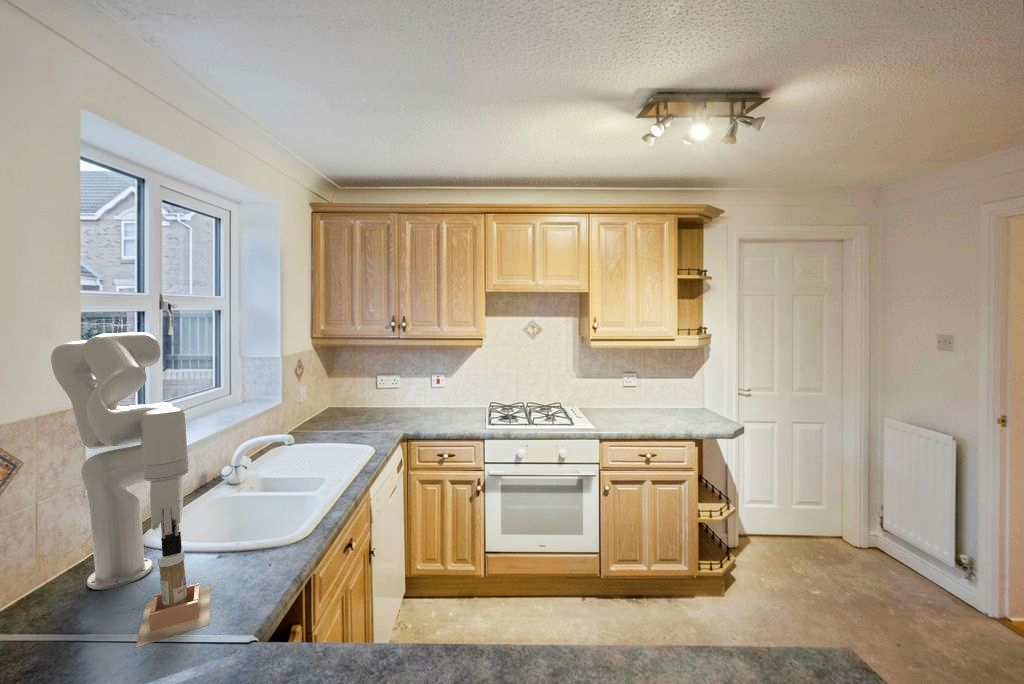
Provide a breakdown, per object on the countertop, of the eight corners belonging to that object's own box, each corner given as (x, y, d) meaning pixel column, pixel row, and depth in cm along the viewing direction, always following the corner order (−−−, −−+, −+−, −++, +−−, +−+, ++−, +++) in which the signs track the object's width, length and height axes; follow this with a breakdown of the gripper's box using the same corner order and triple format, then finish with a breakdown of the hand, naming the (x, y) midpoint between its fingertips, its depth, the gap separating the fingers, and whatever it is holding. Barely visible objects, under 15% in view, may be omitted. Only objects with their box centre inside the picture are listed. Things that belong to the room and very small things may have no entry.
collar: (154, 610, 103) (153, 594, 102) (200, 597, 107) (199, 582, 107) (150, 631, 96) (149, 615, 95) (199, 617, 100) (198, 601, 100)
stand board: (146, 608, 105) (146, 603, 105) (210, 591, 111) (210, 586, 111) (136, 653, 92) (135, 647, 91) (209, 630, 98) (209, 624, 98)
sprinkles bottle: (188, 615, 101) (183, 554, 100) (161, 623, 98) (156, 560, 97) (188, 604, 105) (184, 545, 104) (163, 611, 102) (158, 551, 101)
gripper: (148, 461, 103) (154, 543, 105) (138, 482, 91) (145, 575, 92) (189, 455, 107) (194, 534, 109) (186, 475, 95) (192, 563, 96)
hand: (172, 553), depth 100 cm, fingers closed
